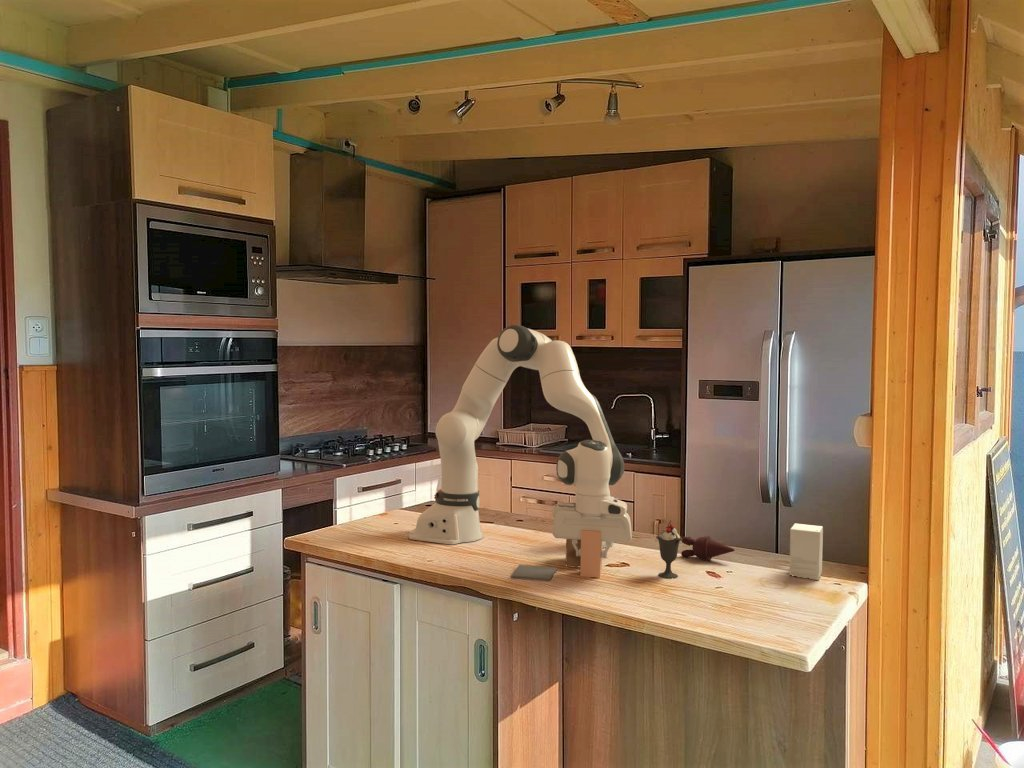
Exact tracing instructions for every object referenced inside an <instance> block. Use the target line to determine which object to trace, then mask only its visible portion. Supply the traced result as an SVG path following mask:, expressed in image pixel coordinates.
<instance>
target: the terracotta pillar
mask: <svg viewBox="0 0 1024 768" xmlns="http://www.w3.org/2000/svg"><path fill="white" fill-rule="evenodd" d="M602 550H603V548H602V541H601V531H591V530H581V567H579V568H580V569H579V570H580V575H579V576H586V577H585V578H590V577H596V578H595V579H600V578H601V576H602V574H603V558H601V551H602ZM601 573H602V574H601Z"/></svg>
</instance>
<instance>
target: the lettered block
mask: <svg viewBox="0 0 1024 768" xmlns="http://www.w3.org/2000/svg"><path fill="white" fill-rule="evenodd" d="M577 545H578V547H579V548H580V549H581V540H578V543H577ZM566 565H567V566H566ZM565 566H566V567H573V566H580V567H579V568H581V557H577V556H576V550H575V548H574V546H573V544H572V539H565Z"/></svg>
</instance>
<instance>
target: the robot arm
mask: <svg viewBox="0 0 1024 768" xmlns="http://www.w3.org/2000/svg"><path fill="white" fill-rule="evenodd" d="M576 359H577V358H576V356H575V354H574V352H573V349H572V347H571V346H570V345H569V343H567V342H566V341H563V340H554V339H553V338H552V337H549V336H547V335H546V334H544V333H542V332H540V331H538V330H534V329H531V328H529V327H528V328H527V327H525V326H523V325H520V324H511V325H508V326H506V327H505V328H503V329H502V330H501V332H500V333H499V335H498V337H495V338H493V339H492V340H491V341H490V342H489V343H488V344H487V346H486V347H485V348H484V350H483V351H482V352H481V353H480V355H479V357H478V358H477V360H476V362H475V363H474V365H473V367H472V369H471V370H470V373H469V374H468V376H467V378H466V380H465V381H464V383H463V385H462V387H461V391H460V394H459V397H458V399H457V402H456V403H455V406H454V408H453V409H452V410H451V411H450V412H449V411H448V412H447V413H444V414H443V415H442V416H441V417H440V418H439V420H438V422H437V424H436V427H435V437H436V439H437V443H438V451H439V456H440V463H441V488H440V489H438V490H437V492H435V494H434V495H433V496H434V497H433V498H434V500H435V502H434V504H432V505H430V506H429V507H428V508H427V509H425V510H424V511H423V512H422V513H421V514H419V516H418V517H417V521H416V524H415V526H416V527H415V528H413V529H411V530H410V532H409V533H408V538H409V540H413V541H414V540H416V541H421V542H430V543H436V544H437V543H438V544H446V545H456V544H460V543H470V542H475V541H479V540H482V538H484V535H483V531H482V528H481V524H480V523H481V521H480V514H479V509H480V505H481V504H480V503H481V502H480V490H479V464H478V461H477V457H476V456H477V455H476V449H475V448H476V447H475V441H476V440H477V439H478V438H479V437H480V435H481V434H482V432H483V430H484V428H485V426H486V424H487V422H488V420H489V418H490V416H491V413H492V411H493V408H494V407H495V404H496V402H497V401H498V399H499V397H500V395H501V394H502V392H503V390H504V388H505V387H506V385H507V383H508V381H509V379H510V377H511V375H512V373H513V372H514V371H515V370H516V369H517V368H518V367H523V368H525V369H526V370H530V371H531V370H532V371H535V372H539V378H540V383H541V388H542V390H541V391H542V393H543V396H544V399H545V400H546V402H547V403H548V404H549V405H550V406H551V407H552V408H553V407H554V408H555V409H556V410H557V411H561V412H564V413H567V414H571V415H573V416H575V417H577V418H579V419H580V420H582V421H583V422H584V423H585V424H586V426H587V427H588V430H589V433H590V436H591V438H592V439H585V440H582V441H580V442H579V443H578V444H577V446H576V447H574V448H572V449H568V450H564V451H562V452H561V453H560V455H559V456H558V458H557V460H556V470H555V471H556V475H557V478H558V479H559V480H560V481H561V482H562V483H563V484H564V485H565V486H566V485H568V486H572V487H573V486H576V489H575V501H574V502H563V501H561V502H558V503H556V504H554V505H553V506H552V517H553V518H554V520H553V526H552V535H553V537H554V538H555V539H563V540H566V539H572V544H573V546H574V548H575V550H576V556H577V557H581V549H580V548H579V547H578V545H577V543H578V540H581V530H591V531H601V541H605V542H606V546H607V547H605V549H602V551H601V558H602V559H605V560H606V559H607V558H608V552H609V550H610V548H611V547H612V546H611V544H612V542H613V543H625V544H628V543H630V542H631V540H632V533H633V532H632V523H631V517H630V515H629V513H627V511H628V505H627V502H625V501H622V500H620V499H618V498H615V497H614V498H612V497H613V496H611V491H610V486H613V485H616V484H617V483H618V482H619V481H620V480H621V479H622V477H623V475H624V473H625V467H626V466H625V461H624V458H623V455H622V454H621V452H620V450H619V448H618V447H617V444H616V443H615V441H614V438H613V435H612V433H611V430H610V428H609V425H608V422H607V420H606V418H605V415H604V413H603V409H602V407H601V405H600V402H599V401H598V398H597V397H596V396H595V395H594V394H592V393H591V392H590V391H589V390H588V389H587V388H586V386H585V384H584V382H583V380H582V378H581V375H580V369H579V367H578V362H577V360H576ZM610 496H611V497H610Z"/></svg>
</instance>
